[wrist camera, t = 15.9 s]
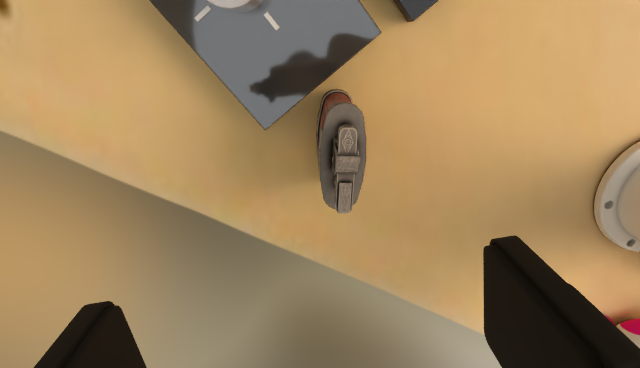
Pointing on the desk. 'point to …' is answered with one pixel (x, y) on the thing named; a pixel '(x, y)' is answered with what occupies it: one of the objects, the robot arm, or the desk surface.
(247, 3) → the knob
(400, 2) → the control block
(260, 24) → the grey dial base plate
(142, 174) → the desk surface
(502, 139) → the desk surface
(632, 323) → the stress ball
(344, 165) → the lighter
